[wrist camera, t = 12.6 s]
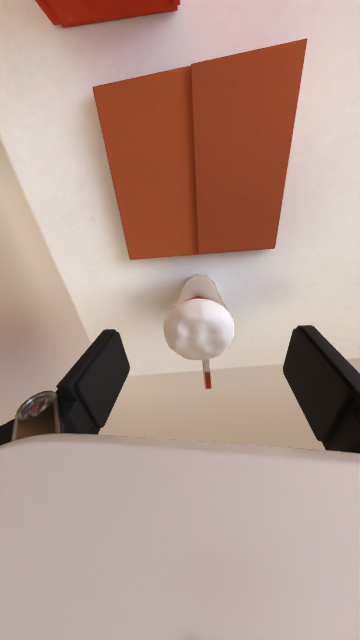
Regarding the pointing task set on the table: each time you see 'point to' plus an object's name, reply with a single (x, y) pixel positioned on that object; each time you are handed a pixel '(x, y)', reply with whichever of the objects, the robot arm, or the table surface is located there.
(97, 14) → the file binder
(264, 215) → the cloth
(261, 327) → the table surface
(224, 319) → the milkshake
